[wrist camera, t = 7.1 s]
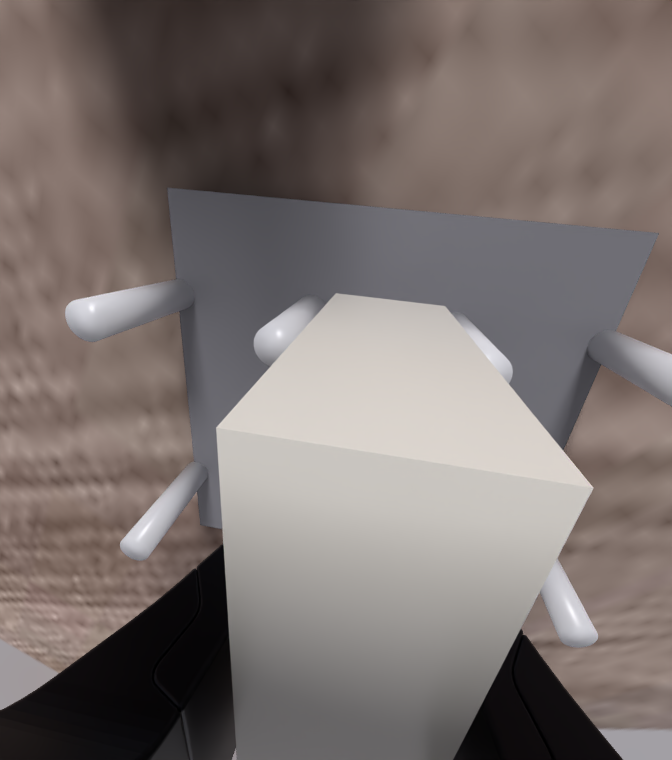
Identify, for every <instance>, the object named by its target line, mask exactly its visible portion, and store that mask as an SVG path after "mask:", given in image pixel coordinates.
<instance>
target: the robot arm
mask: <svg viewBox="0 0 672 760" xmlns="http://www.w3.org/2000/svg"><path fill="white" fill-rule="evenodd" d="M522 635H523V631H522V629H520V631H519V633H518V635H517V637H516V639H515V641H514V643H513V645H512V647H511V648H510V650H509V652H508V654H507V656H506V658H505V660H504V662H503V664H502V666H501V668H500V670H499V672H498V674H497V676H496V678H495V679H494V681H493V683H492V685H491V687H490V689H489V691H488V693H487V695H486V697H485V699H484V701H483V703H482V705H481V707H480V708H479V710H478V712H477V714H476V716H475V718H474V720H473V722H472V724H471V726H470V728H469V730H468V732H467V734H466V736H465V738H464V739H463V741H462V743H461V745H460V747H459V749H458V751H457V753H456V755H455V757H454V759H453V760H623V759H622V758H621V757H620V755H619V754H618V753H617V752H616V751H615V749H614V748H613V747H612V746H611V745H610V743H609V742H608V741H607V740H606V739H605V737H604V736H603V735H602V734H601V732H600V731H599V730H598V729H597V728H596V726H595V725H594V724H593V723H592V721H591V720H590V719H589V718H588V716H587V715H586V714H585V713H584V711H583V710H582V709H581V708H580V706H579V705H578V704H577V703H576V701H575V700H574V699H573V698H572V696H571V695H570V694H569V693H568V691H567V690H566V689H565V688H564V686H563V685H562V684H561V682H560V681H559V680H558V678H557V677H556V676H555V674H554V673H553V672H552V670H551V669H550V668H549V666H548V665H547V664H546V662H545V661H544V660H543V658H542V657H541V656H540V654H539V653H538V651H537V650H536V649H535V647H534V646H533V644H532V643H531V642H530V640H529V639H528V637H527V636H526V635H523V636H522ZM235 748H236V736H235V720H234V704H233V688H232V672H231V656H230V640H229V625H228V609H227V593H226V577H225V561H224V545H223V544H222V545H221V546H220V547H219V548H217V549H216V550H215V551H214V552H213V553H212V554H211V555H210V556H208V557H207V558H206V559H205V560H204V561H203V562H202V563H200V564H199V565H198V566H197V569H193V570H192V571H191V572H190V573H189V574H188V575H187V576H185V577H184V578H183V579H182V580H181V581H180V582H179V583H177V584H176V585H175V586H174V587H173V588H171V589H170V590H169V591H168V592H167V593H165V594H164V595H163V596H162V597H161V598H159V599H158V600H157V601H156V602H155V603H153V604H152V605H151V606H149V607H148V608H147V609H145V610H144V611H143V612H142V613H140V614H139V615H138V616H136V617H135V618H134V619H132V620H131V621H130V622H128V623H127V624H126V625H124V626H123V627H122V628H120V629H119V630H118V631H116V632H115V633H114V634H112V635H111V636H110V637H108V638H107V639H105V640H104V641H103V642H101V643H100V644H99V645H97V646H96V647H95V648H93V649H92V650H90V651H89V652H88V653H86V654H85V655H84V656H82V657H81V658H80V659H78V660H77V661H76V662H74V663H73V664H71V665H70V666H69V667H67V668H66V669H65V670H63V671H62V672H61V673H59V674H58V675H57V676H55V677H54V678H52V679H51V680H50V681H48V682H47V683H45V684H44V685H43V686H41V687H40V688H38V689H37V690H35V691H33V692H32V693H30V694H29V695H27V696H25V697H24V698H23V699H21V700H19V701H17V702H15V703H13V704H12V705H10V706H8V707H6V708H4V709H2V710H0V760H232V757H233V754H234V751H235Z"/></svg>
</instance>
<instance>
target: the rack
mask: <svg viewBox="0 0 672 760" xmlns="http://www.w3.org/2000/svg"><path fill="white" fill-rule="evenodd" d="M167 190H168V201H169V211H170V221H171V231H172V241H173V251H174V262H175V272H176V279H175V280H170V281H165V282H160V283H156V284H151V285H146V286H141V287H136V288H131V289H126V290H122V291H117V292H112V293H107V294H102V295H97V296H93V297H88V298H83V299H78V300H74V301H72V302H70V303H69V304H68V305H67V307H66V311H65V316H66V321H67V323H68V325H69V327H70V329H71V330H72V331H73V332H74V333H75V334H76V335H77V336H78V337H79V338H81V339H83V340H85V341H89V342H95V341H99V340H101V339H104V338H107V337H110V336H112V335H115V334H118V333H121V332H123V331H126V330H129V329H132V328H134V327H137V326H140V325H143V324H145V323H148V322H151V321H154V320H156V319H159V318H162V317H165V316H167V315H170V314H173V313H176V312H178V311H179V312H180V323H181V333H182V343H183V353H184V363H185V373H186V383H187V394H188V404H189V414H190V424H191V434H192V444H193V455H194V462H191V463H189V464H188V465H187V466H186V467H185V468H184V469H183V471H182V472H181V473H180V474H179V475H178V476H177V478H176V479H175V480H174V481H173V482H172V483H171V484H170V486H169V487H168V488H167V489H166V490H165V491H164V492H163V494H162V495H161V496H160V497H159V498H158V499H157V501H156V502H155V503H154V504H153V505H152V506H151V507H150V509H149V510H148V511H147V512H146V513H145V514H144V515H143V517H142V518H141V519H140V520H139V521H138V522H137V524H136V525H135V526H134V527H133V528H132V529H131V530H130V532H129V533H128V534H127V535H126V536H125V537H124V538H123V540H122V541H121V542H120V548H121V550H122V551H123V553H124V554H125V555H127V556H128V557H130V558H132V559H134V560H140V561H141V560H145V559H147V558H148V557H149V555H150V554H151V553H152V551H153V550H154V548H155V547H156V546H157V544H158V543H159V542H160V540H161V539H162V538H163V536H164V535H165V534H166V532H167V531H168V530H169V528H170V527H171V526H172V524H173V523H174V522H175V520H176V519H177V517H178V516H179V515H180V513H181V512H182V511H183V509H184V508H185V507H186V505H187V504H188V503H189V501H190V500H191V499H192V497H193V496H194V495H195V493H196V492H197V495H198V505H199V516H200V525H203V526H208V527H214V528H219V529H222V513H221V497H220V481H219V465H218V449H217V433H216V427H217V426H218V425H219V424H220V423H221V422H222V421H223V419H224V418H225V417H226V416H227V415H228V414H229V413H230V412H231V410H232V409H233V408H234V407H235V406H236V405H237V404H238V403H239V401H240V400H241V399H242V398H243V397H244V396H245V395H246V394H247V392H248V391H249V390H250V389H251V388H252V387H253V386H254V385H255V383H256V382H257V381H258V380H259V379H260V378H261V377H262V376H263V374H264V373H265V372H266V371H267V370H268V369H269V368H270V367H271V365H272V364H273V363H274V362H275V361H276V360H277V359H278V358H279V356H280V355H281V354H282V353H283V352H284V351H285V350H286V349H287V348H288V346H289V345H290V344H291V343H292V342H293V341H294V340H295V339H296V337H297V336H298V335H299V334H300V333H301V332H302V331H303V330H304V328H305V327H306V326H307V325H308V324H309V323H310V322H311V321H312V319H313V318H314V317H315V316H316V315H317V314H318V313H319V312H320V310H321V309H322V308H323V307H324V306H325V305H326V304H327V303H328V301H329V300H330V299H331V298H332V297H333V296H334V295H335V294H336V293H338V294H347V295H355V296H364V297H372V298H381V299H389V300H398V301H406V302H415V303H423V304H432V305H440V306H445V307H446V308H447V309H448V310H449V311H450V313H451V314H452V315H453V316H454V318H455V319H456V320H457V321H458V322H459V324H460V325H461V326H462V327H463V329H464V330H465V331H466V332H467V334H468V335H469V336H470V337H471V338H472V340H473V341H474V342H475V343H476V345H477V346H478V347H479V348H480V349H481V351H482V352H483V353H484V354H485V356H486V357H487V358H488V359H489V361H490V362H491V363H492V364H493V365H494V367H495V368H496V369H497V370H498V372H499V373H500V374H501V375H502V376H503V378H504V379H505V380H506V381H507V383H508V384H509V385H510V386H511V387H512V389H513V390H514V391H515V392H516V394H517V395H518V396H519V397H520V399H521V400H522V401H523V402H524V403H525V405H526V406H527V407H528V408H529V410H530V411H531V412H532V413H533V414H534V416H535V417H536V418H537V419H538V421H539V422H540V423H541V424H542V426H543V427H544V428H545V429H546V430H547V432H548V433H549V434H550V435H551V437H552V438H553V439H554V440H555V441H556V443H557V444H558V445H559V446H560V448H561V449H562V450H564V447H565V445H566V443H567V441H568V438H569V436H570V434H571V431H572V429H573V427H574V425H575V422H576V420H577V418H578V416H579V413H580V411H581V409H582V407H583V404H584V402H585V400H586V397H587V395H588V393H589V391H590V388H591V386H592V384H593V382H594V379H595V377H596V375H597V373H598V370H599V368H600V366H601V365H603V366H605V367H606V368H608V369H610V370H611V371H613V372H615V373H616V374H618V375H620V376H621V377H623V378H625V379H626V380H628V381H630V382H631V383H633V384H635V385H636V386H638V387H640V388H641V389H643V390H645V391H646V392H648V393H650V394H651V395H653V396H655V397H656V398H658V399H660V400H661V401H663V402H665V403H666V404H668V405H670V406H671V407H672V354H670V353H667V352H665V351H663V350H660V349H658V348H655V347H653V346H651V345H648V344H646V343H643V342H641V341H638V340H636V339H634V338H631V337H629V336H626V335H624V334H622V333H619V332H617V331H616V330H617V327H618V325H619V323H620V320H621V318H622V316H623V314H624V311H625V309H626V307H627V305H628V302H629V300H630V298H631V296H632V293H633V291H634V289H635V287H636V284H637V282H638V280H639V277H640V275H641V273H642V271H643V268H644V266H645V264H646V262H647V259H648V257H649V255H650V253H651V250H652V248H653V246H654V243H655V241H656V239H657V237H658V234H659V233H652V232H641V231H630V230H620V229H609V228H598V227H587V226H576V225H565V224H555V223H544V222H533V221H522V220H511V219H501V218H490V217H479V216H468V215H457V214H446V213H436V212H425V211H414V210H403V209H392V208H382V207H371V206H360V205H349V204H338V203H327V202H317V201H306V200H295V199H284V198H273V197H263V196H252V195H241V194H230V193H219V192H208V191H198V190H187V189H176V188H167ZM540 594H541V596H542V599H543V601H544V603H545V606H546V608H547V610H548V613H549V615H550V617H551V620H552V622H553V624H554V626H555V629H556V631H557V633H558V636H559V638H560V640H561V642H562V643H564V644H565V645H567V646H571V647H586V646H589V645H592V644H593V643H595V642H596V641H597V639H598V634H597V632H596V630H595V628H594V626H593V624H592V622H591V621H590V619H589V617H588V615H587V613H586V611H585V609H584V607H583V605H582V604H581V602H580V600H579V598H578V596H577V594H576V592H575V590H574V588H573V587H572V585H571V583H570V581H569V579H568V577H567V575H566V573H565V571H564V570H563V568H562V566H561V564H560V562H559V560H558V558H557V559H556V561H555V563H554V565H553V567H552V569H551V571H550V573H549V575H548V577H547V579H546V581H545V583H544V585H543V587H542V588H541V590H540Z"/></svg>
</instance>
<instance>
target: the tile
mask: <svg viewBox="0 0 672 760" xmlns="http://www.w3.org/2000/svg"><path fill="white" fill-rule="evenodd" d="M216 433H217V449H218V465H219V481H220V497H221V513H222V529H223V545H224V561H225V577H226V593H227V609H228V625H229V640H230V656H231V672H232V688H233V704H234V720H235V736H236V750H237V751H236V752H237V760H453V759H454V757H455V755H456V753H457V751H458V749H459V747H460V745H461V743H462V741H463V739H464V738H465V736H466V734H467V732H468V730H469V728H470V726H471V724H472V722H473V720H474V718H475V716H476V714H477V712H478V710H479V708H480V707H481V705H482V703H483V701H484V699H485V697H486V695H487V693H488V691H489V689H490V687H491V685H492V683H493V681H494V679H495V678H496V676H497V674H498V672H499V670H500V668H501V666H502V664H503V662H504V660H505V658H506V656H507V654H508V652H509V650H510V648H511V647H512V645H513V643H514V641H515V639H516V637H517V635H518V633H519V631H520V629H521V627H522V625H523V623H524V621H525V619H526V618H527V616H528V614H529V612H530V610H531V608H532V606H533V604H534V602H535V600H536V598H537V596H538V594H539V592H540V590H541V588H542V587H543V585H544V583H545V581H546V579H547V577H548V575H549V573H550V571H551V569H552V567H553V565H554V563H555V561H556V559H557V558H558V556H559V554H560V552H561V550H562V548H563V546H564V544H565V542H566V540H567V538H568V536H569V534H570V532H571V530H572V528H573V527H574V525H575V523H576V521H577V519H578V517H579V515H580V513H581V511H582V509H583V507H584V505H585V503H586V501H587V499H588V498H589V496H590V494H591V492H592V490H593V487H592V486H591V484H590V483H589V482H588V481H587V479H586V478H585V477H584V476H583V475H582V473H581V472H580V471H579V470H578V468H577V467H576V466H575V465H574V464H573V462H572V461H571V460H570V459H569V457H568V456H567V455H566V454H565V452H564V451H563V450H562V449H561V448H560V446H559V445H558V444H557V443H556V441H555V440H554V439H553V438H552V437H551V435H550V434H549V433H548V432H547V430H546V429H545V428H544V427H543V426H542V424H541V423H540V422H539V421H538V419H537V418H536V417H535V416H534V414H533V413H532V412H531V411H530V410H529V408H528V407H527V406H526V405H525V403H524V402H523V401H522V400H521V399H520V397H519V396H518V395H517V394H516V392H515V391H514V390H513V389H512V387H511V386H510V385H509V384H508V383H507V381H506V380H505V379H504V378H503V376H502V375H501V374H500V373H499V372H498V370H497V369H496V368H495V367H494V365H493V364H492V363H491V362H490V361H489V359H488V358H487V357H486V356H485V354H484V353H483V352H482V351H481V349H480V348H479V347H478V346H477V345H476V343H475V342H474V341H473V340H472V338H471V337H470V336H469V335H468V334H467V332H466V331H465V330H464V329H463V327H462V326H461V325H460V324H459V322H458V321H457V320H456V319H455V318H454V316H453V315H452V314H451V313H450V311H449V310H448V309H447V308H446V307H445V306H440V305H432V304H423V303H415V302H406V301H398V300H389V299H381V298H372V297H364V296H355V295H347V294H338V293H336V294H335V295H334V296H333V297H332V298H331V299H330V300H329V301H328V303H327V304H326V305H325V306H324V307H323V308H322V309H321V310H320V312H319V313H318V314H317V315H316V316H315V317H314V318H313V319H312V321H311V322H310V323H309V324H308V325H307V326H306V327H305V328H304V330H303V331H302V332H301V333H300V334H299V335H298V336H297V337H296V339H295V340H294V341H293V342H292V343H291V344H290V345H289V346H288V348H287V349H286V350H285V351H284V352H283V353H282V354H281V355H280V356H279V358H278V359H277V360H276V361H275V362H274V363H273V364H272V365H271V367H270V368H269V369H268V370H267V371H266V372H265V373H264V374H263V376H262V377H261V378H260V379H259V380H258V381H257V382H256V383H255V385H254V386H253V387H252V388H251V389H250V390H249V391H248V392H247V394H246V395H245V396H244V397H243V398H242V399H241V400H240V401H239V403H238V404H237V405H236V406H235V407H234V408H233V409H232V410H231V412H230V413H229V414H228V415H227V416H226V417H225V418H224V419H223V421H222V422H221V423H220V424H219V425H218V426H217V427H216Z"/></svg>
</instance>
